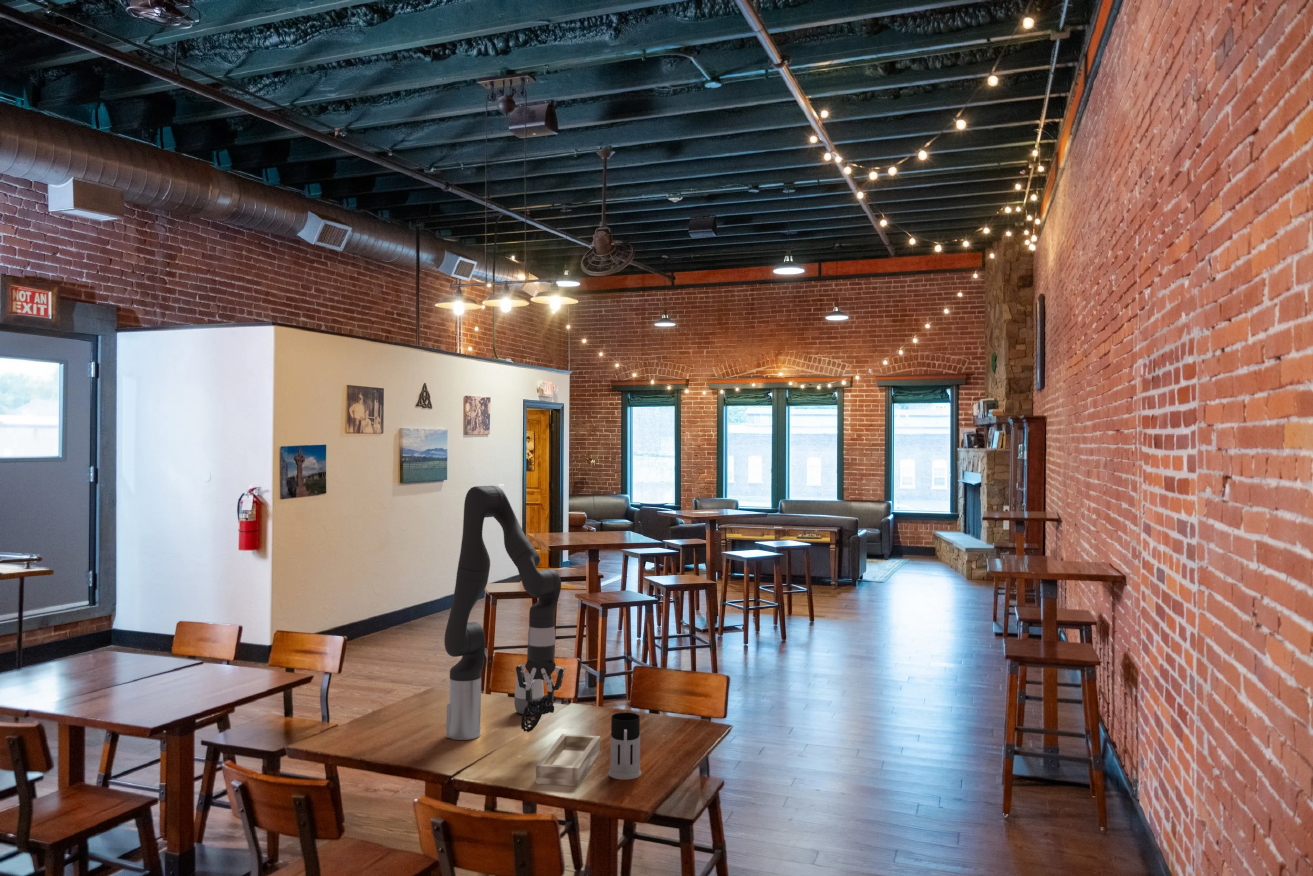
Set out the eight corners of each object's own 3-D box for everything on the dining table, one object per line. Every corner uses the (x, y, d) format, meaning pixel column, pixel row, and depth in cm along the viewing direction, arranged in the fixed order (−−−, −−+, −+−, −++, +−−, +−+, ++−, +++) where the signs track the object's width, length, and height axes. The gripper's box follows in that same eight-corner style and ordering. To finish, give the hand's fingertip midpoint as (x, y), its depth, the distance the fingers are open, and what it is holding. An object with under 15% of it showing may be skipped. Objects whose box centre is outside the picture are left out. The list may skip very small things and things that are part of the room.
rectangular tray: (535, 783, 232) (536, 765, 232) (561, 750, 259) (561, 734, 259) (578, 786, 231) (578, 768, 231) (599, 752, 257) (599, 736, 258)
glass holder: (641, 768, 245) (641, 711, 245) (642, 787, 231) (642, 727, 231) (608, 768, 245) (609, 711, 245) (607, 787, 230) (608, 727, 231)
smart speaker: (544, 709, 301) (545, 666, 301) (542, 717, 292) (543, 673, 292) (515, 709, 300) (516, 666, 300) (513, 717, 291) (513, 673, 291)
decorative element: (536, 733, 241) (537, 711, 241) (517, 732, 242) (518, 709, 242) (557, 710, 263) (558, 689, 263) (540, 708, 264) (541, 688, 264)
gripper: (512, 643, 250) (510, 706, 250) (563, 646, 248) (561, 709, 248) (520, 638, 258) (518, 698, 257) (569, 641, 256) (568, 701, 255)
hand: (539, 703), depth 253 cm, fingers closed on decorative element, 5 cm apart
